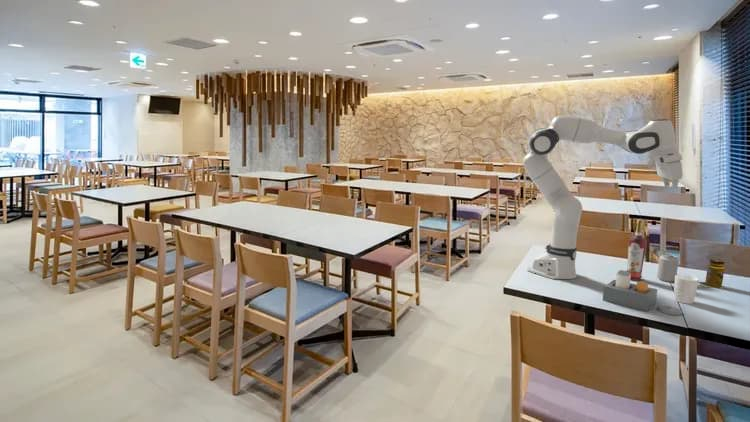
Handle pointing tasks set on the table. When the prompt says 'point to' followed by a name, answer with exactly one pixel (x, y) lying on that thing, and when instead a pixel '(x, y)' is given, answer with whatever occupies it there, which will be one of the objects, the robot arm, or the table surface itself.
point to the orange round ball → (642, 287)
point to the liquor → (636, 252)
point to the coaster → (670, 310)
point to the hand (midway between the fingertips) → (671, 187)
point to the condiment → (714, 274)
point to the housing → (630, 296)
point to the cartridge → (623, 279)
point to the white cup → (685, 288)
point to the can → (667, 267)
